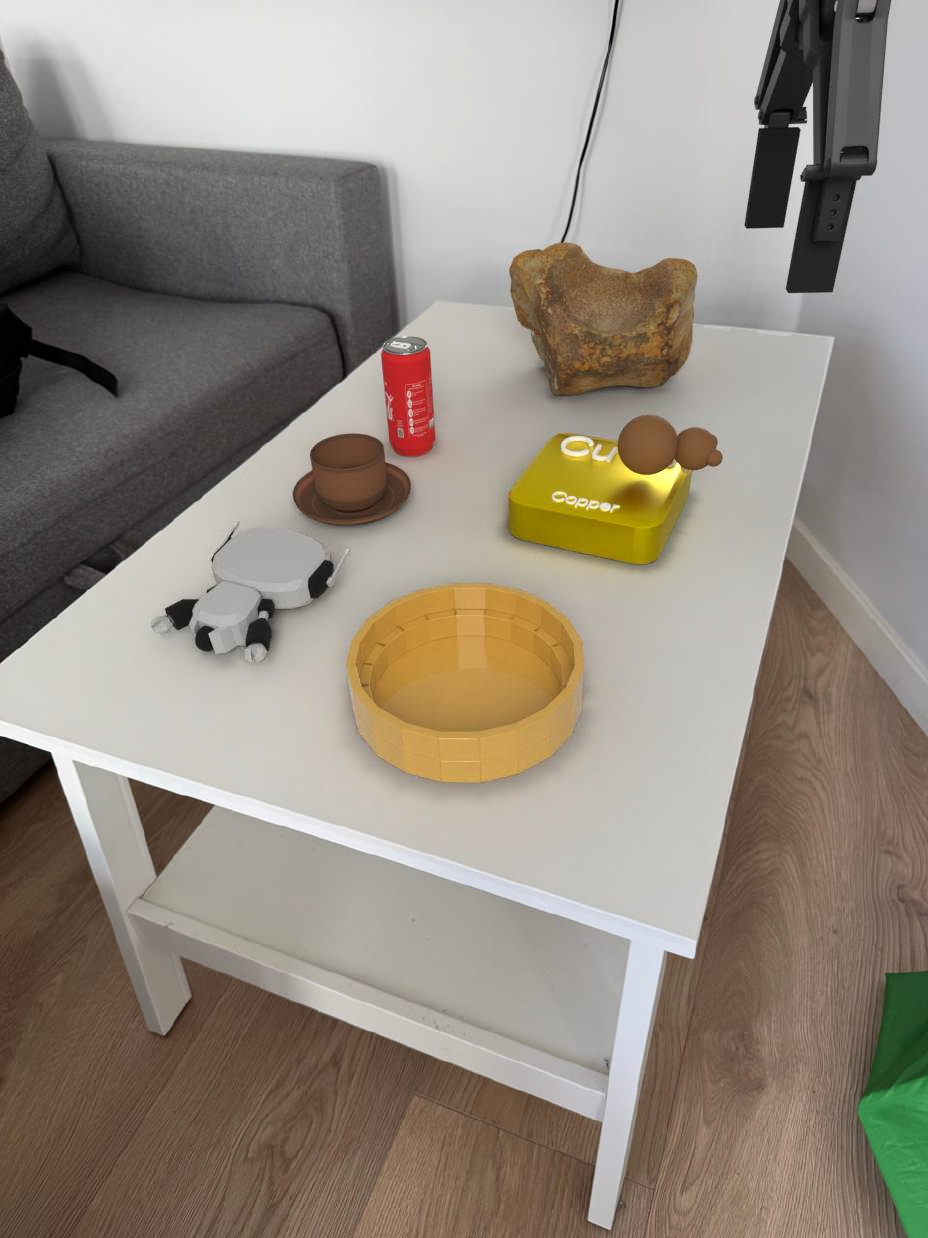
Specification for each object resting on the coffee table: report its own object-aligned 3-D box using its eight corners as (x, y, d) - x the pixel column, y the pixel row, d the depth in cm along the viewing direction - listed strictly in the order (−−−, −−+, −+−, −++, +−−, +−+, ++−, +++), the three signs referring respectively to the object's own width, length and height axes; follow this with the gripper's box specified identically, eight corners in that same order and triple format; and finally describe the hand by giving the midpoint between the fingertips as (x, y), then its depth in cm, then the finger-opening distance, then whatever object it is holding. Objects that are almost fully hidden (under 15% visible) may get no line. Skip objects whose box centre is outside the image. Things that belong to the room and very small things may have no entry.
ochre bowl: (575, 630, 77) (577, 582, 74) (586, 790, 63) (590, 740, 60) (370, 629, 78) (364, 582, 75) (338, 787, 64) (329, 737, 61)
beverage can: (422, 462, 100) (415, 357, 93) (381, 453, 102) (371, 350, 95) (443, 441, 104) (438, 338, 96) (403, 433, 106) (395, 332, 98)
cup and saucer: (289, 484, 98) (280, 432, 94) (399, 467, 100) (395, 415, 96) (302, 545, 88) (292, 490, 85) (423, 524, 90) (419, 469, 87)
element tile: (501, 537, 88) (501, 494, 85) (554, 465, 99) (555, 424, 96) (654, 570, 83) (659, 526, 80) (692, 490, 94) (698, 448, 91)
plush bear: (610, 452, 90) (707, 460, 90) (615, 484, 86) (717, 492, 86) (621, 401, 86) (722, 409, 86) (626, 431, 82) (732, 439, 82)
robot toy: (270, 690, 74) (360, 577, 83) (257, 650, 71) (353, 538, 80) (150, 652, 78) (249, 549, 88) (133, 613, 75) (238, 510, 85)
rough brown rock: (484, 405, 112) (482, 287, 102) (515, 342, 124) (516, 230, 113) (675, 429, 107) (694, 307, 97) (689, 361, 119) (708, 245, 108)
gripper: (742, -144, 59) (700, 206, 72) (850, -156, 39) (766, 326, 53) (861, -149, 58) (797, 204, 72) (1030, -165, 39) (900, 323, 52)
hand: (784, 256), depth 62 cm, fingers open, 13 cm apart
